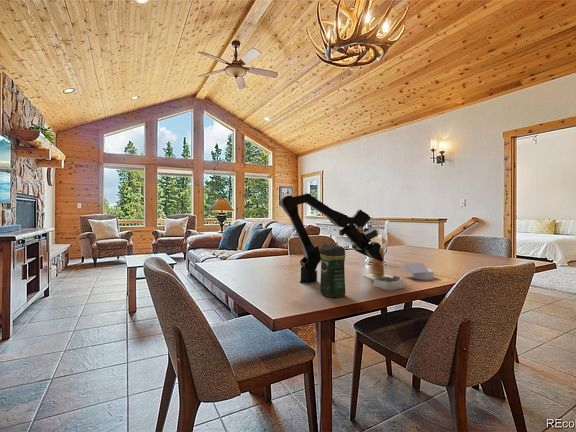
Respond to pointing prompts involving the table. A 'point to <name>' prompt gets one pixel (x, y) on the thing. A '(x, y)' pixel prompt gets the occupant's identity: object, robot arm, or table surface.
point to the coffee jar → (332, 271)
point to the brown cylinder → (378, 265)
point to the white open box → (388, 283)
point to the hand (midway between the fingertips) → (377, 259)
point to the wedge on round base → (419, 271)
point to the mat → (372, 276)
